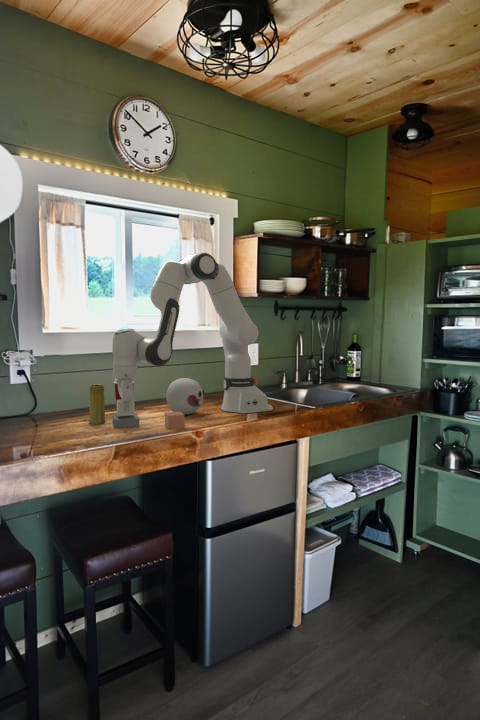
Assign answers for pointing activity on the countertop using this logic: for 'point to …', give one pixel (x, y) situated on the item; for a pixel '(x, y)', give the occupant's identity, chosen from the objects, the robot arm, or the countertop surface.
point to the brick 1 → (121, 408)
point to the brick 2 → (174, 420)
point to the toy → (184, 396)
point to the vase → (97, 404)
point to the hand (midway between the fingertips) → (125, 409)
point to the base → (125, 421)
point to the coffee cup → (118, 392)
